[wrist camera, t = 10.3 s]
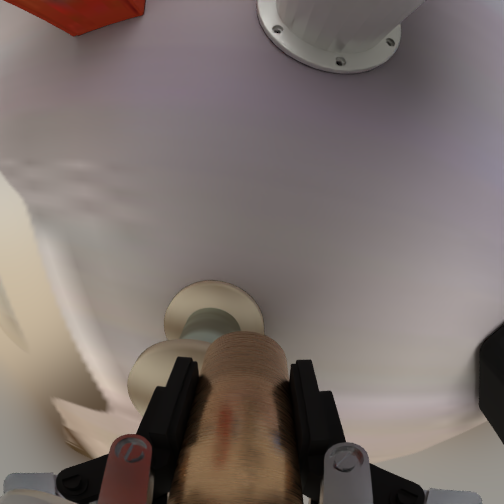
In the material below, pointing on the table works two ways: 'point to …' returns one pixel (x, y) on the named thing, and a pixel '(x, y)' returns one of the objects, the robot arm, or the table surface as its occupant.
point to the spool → (192, 333)
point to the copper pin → (240, 428)
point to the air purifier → (493, 381)
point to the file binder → (81, 12)
